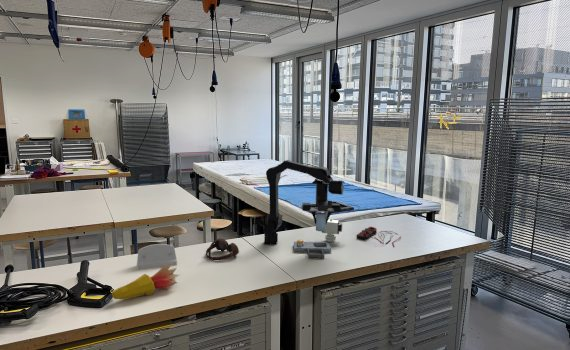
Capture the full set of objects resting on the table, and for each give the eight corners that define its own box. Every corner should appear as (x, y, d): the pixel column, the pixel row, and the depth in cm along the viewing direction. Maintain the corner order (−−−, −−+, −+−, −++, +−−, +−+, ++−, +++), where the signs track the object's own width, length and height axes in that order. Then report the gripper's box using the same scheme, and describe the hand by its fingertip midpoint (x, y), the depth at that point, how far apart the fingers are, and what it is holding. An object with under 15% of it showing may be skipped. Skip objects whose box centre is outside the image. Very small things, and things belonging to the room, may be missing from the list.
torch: (115, 312, 134) (178, 282, 150) (121, 309, 128) (186, 279, 145) (106, 289, 135) (171, 263, 151) (112, 286, 129) (178, 259, 146)
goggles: (242, 255, 179) (238, 236, 176) (220, 269, 170) (216, 249, 167) (221, 248, 189) (218, 230, 186) (200, 260, 180) (196, 241, 177)
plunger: (296, 248, 189) (297, 241, 188) (296, 246, 192) (296, 239, 191) (303, 248, 189) (303, 241, 188) (302, 246, 192) (303, 239, 191)
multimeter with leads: (351, 232, 205) (367, 222, 226) (350, 240, 206) (367, 229, 227) (394, 240, 193) (407, 229, 214) (393, 249, 194) (407, 236, 215)
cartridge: (316, 231, 187) (316, 213, 185) (315, 228, 191) (315, 211, 190) (325, 231, 187) (326, 213, 185) (324, 228, 191) (325, 211, 190)
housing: (294, 252, 186) (294, 248, 185) (293, 245, 195) (293, 241, 195) (331, 252, 186) (331, 248, 185) (328, 245, 196) (328, 242, 195)
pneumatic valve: (340, 243, 200) (341, 221, 198) (318, 241, 203) (319, 219, 201) (342, 240, 205) (342, 218, 203) (320, 237, 208) (321, 216, 206)
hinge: (136, 269, 161) (135, 246, 163) (137, 269, 165) (136, 246, 167) (177, 265, 167) (176, 242, 169) (176, 264, 171) (175, 242, 173)
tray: (308, 258, 178) (308, 254, 177) (307, 252, 185) (307, 249, 185) (324, 258, 178) (324, 254, 177) (322, 253, 185) (322, 249, 185)
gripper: (303, 196, 178) (302, 228, 181) (343, 196, 178) (342, 229, 181) (302, 191, 189) (301, 222, 192) (339, 192, 189) (338, 222, 192)
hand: (320, 223), depth 189 cm, fingers closed on cartridge, 5 cm apart
